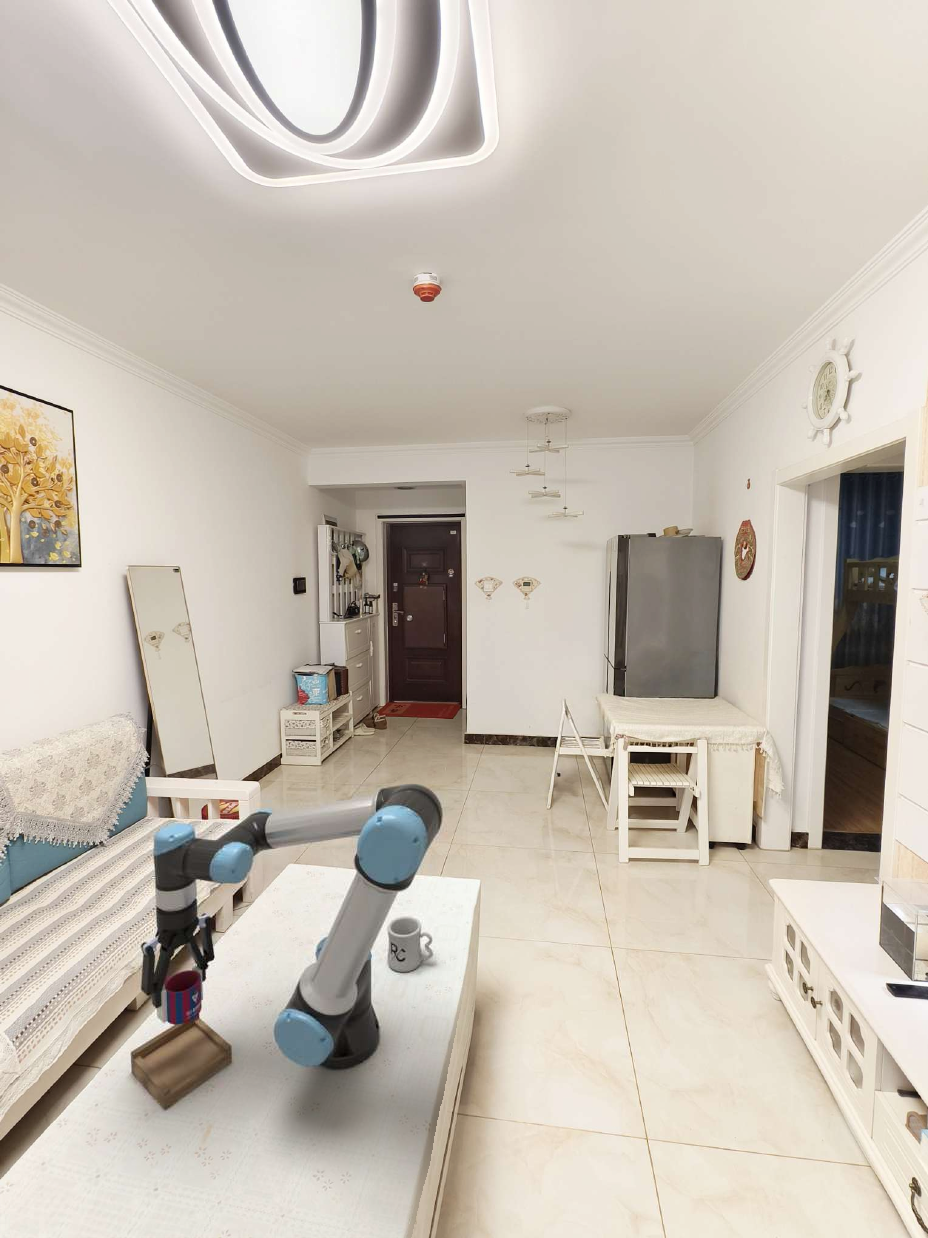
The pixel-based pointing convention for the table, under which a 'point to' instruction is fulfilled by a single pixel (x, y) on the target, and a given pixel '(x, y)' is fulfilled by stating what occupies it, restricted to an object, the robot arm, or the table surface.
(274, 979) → the table surface
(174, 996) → the cup
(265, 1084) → the table surface
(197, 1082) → the tan flat rimmed tray
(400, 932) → the mug
